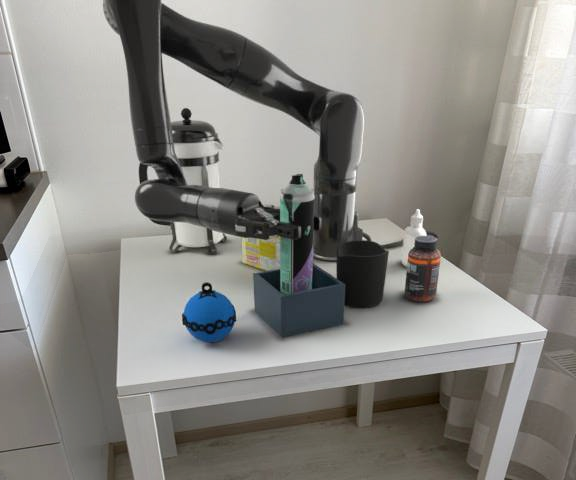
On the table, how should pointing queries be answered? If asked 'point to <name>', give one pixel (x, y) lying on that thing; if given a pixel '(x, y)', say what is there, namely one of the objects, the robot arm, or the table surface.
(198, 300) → the ornament
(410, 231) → the eye dropper bottle
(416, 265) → the supplement bottle
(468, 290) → the table surface
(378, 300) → the pen holder
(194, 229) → the coffee press
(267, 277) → the bin
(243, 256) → the candy box
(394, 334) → the table surface
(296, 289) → the spray can
